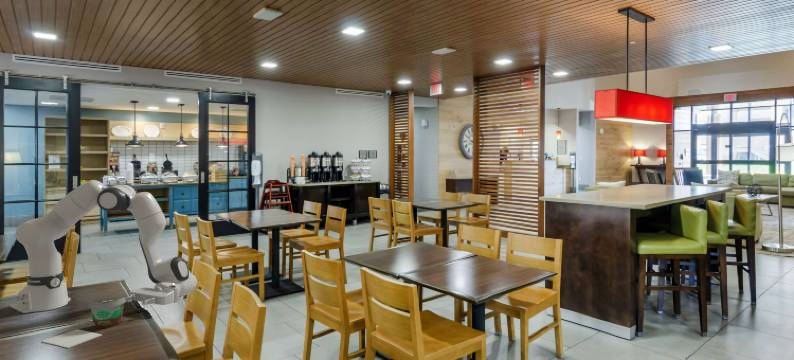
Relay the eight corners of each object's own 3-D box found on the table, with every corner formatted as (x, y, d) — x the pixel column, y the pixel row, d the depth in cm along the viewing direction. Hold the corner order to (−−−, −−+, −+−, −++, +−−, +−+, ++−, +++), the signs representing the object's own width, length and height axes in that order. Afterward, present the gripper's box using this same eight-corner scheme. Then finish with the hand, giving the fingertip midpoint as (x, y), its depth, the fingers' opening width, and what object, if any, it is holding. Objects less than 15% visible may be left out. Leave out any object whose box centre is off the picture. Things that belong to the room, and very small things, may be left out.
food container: (87, 331, 170) (86, 305, 170) (89, 326, 176) (88, 300, 175) (125, 326, 176) (124, 300, 175) (126, 320, 181) (125, 296, 181)
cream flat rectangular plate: (41, 342, 161) (41, 341, 161) (76, 329, 172) (76, 329, 172) (68, 348, 156) (67, 347, 156) (102, 335, 167) (102, 334, 167)
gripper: (146, 282, 203) (117, 291, 190) (180, 287, 196) (152, 296, 183) (146, 296, 204) (117, 306, 191) (181, 302, 196) (153, 312, 183)
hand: (135, 301), depth 187 cm, fingers open, 8 cm apart
